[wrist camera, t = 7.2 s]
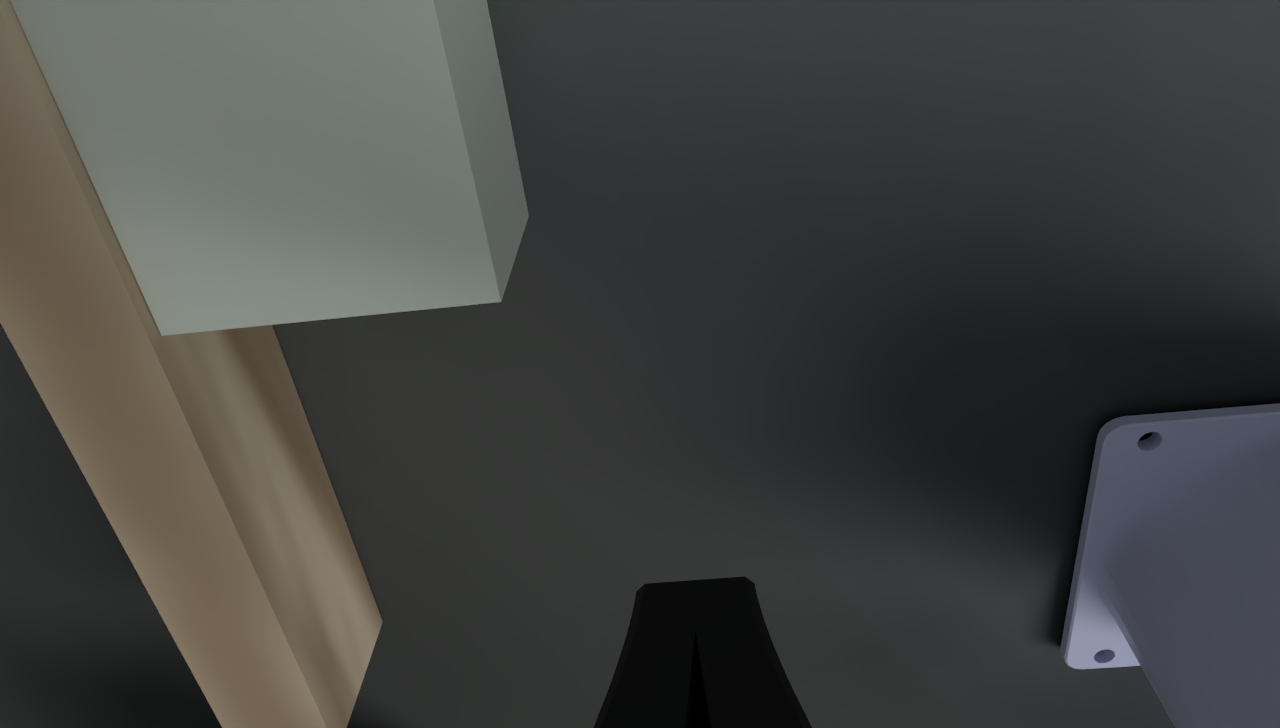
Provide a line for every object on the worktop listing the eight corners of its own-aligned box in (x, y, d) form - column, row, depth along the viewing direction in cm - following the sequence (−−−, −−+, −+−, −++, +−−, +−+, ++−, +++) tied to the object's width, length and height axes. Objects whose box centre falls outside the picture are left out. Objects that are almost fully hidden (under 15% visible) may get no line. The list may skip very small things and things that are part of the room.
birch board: (-13, -439, 13) (-245, -525, 10) (382, 621, 25) (337, 752, 21) (-165, -413, 14) (-443, -488, 10) (297, 627, 25) (238, 758, 21)
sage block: (439, -256, 15) (371, -274, 11) (530, 211, 19) (501, 302, 15) (84, -203, 15) (-84, -205, 12) (250, 241, 19) (161, 335, 16)
